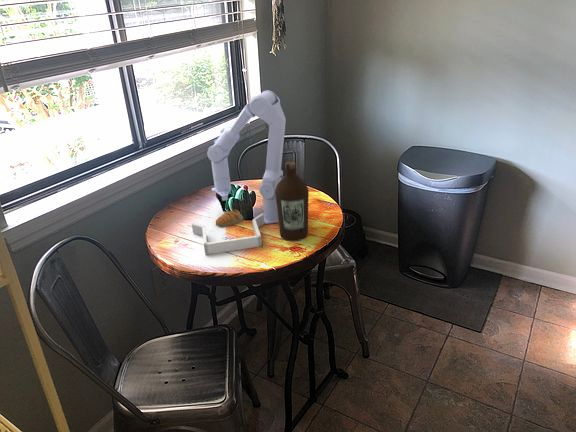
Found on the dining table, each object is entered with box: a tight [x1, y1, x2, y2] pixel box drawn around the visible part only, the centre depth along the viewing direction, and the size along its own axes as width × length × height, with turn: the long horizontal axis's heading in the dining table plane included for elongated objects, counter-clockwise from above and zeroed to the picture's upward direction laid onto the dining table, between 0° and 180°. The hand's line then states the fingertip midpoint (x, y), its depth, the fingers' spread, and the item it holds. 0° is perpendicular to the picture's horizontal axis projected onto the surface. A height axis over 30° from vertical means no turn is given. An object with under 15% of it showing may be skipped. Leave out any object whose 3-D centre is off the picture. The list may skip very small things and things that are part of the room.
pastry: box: [215, 209, 243, 228], centre depth 166 cm, size 9×7×4 cm
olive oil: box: [275, 161, 310, 242], centre depth 150 cm, size 11×11×25 cm
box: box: [191, 213, 265, 256], centre depth 155 cm, size 25×16×4 cm, turn 102°
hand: (225, 210), depth 173 cm, fingers closed
